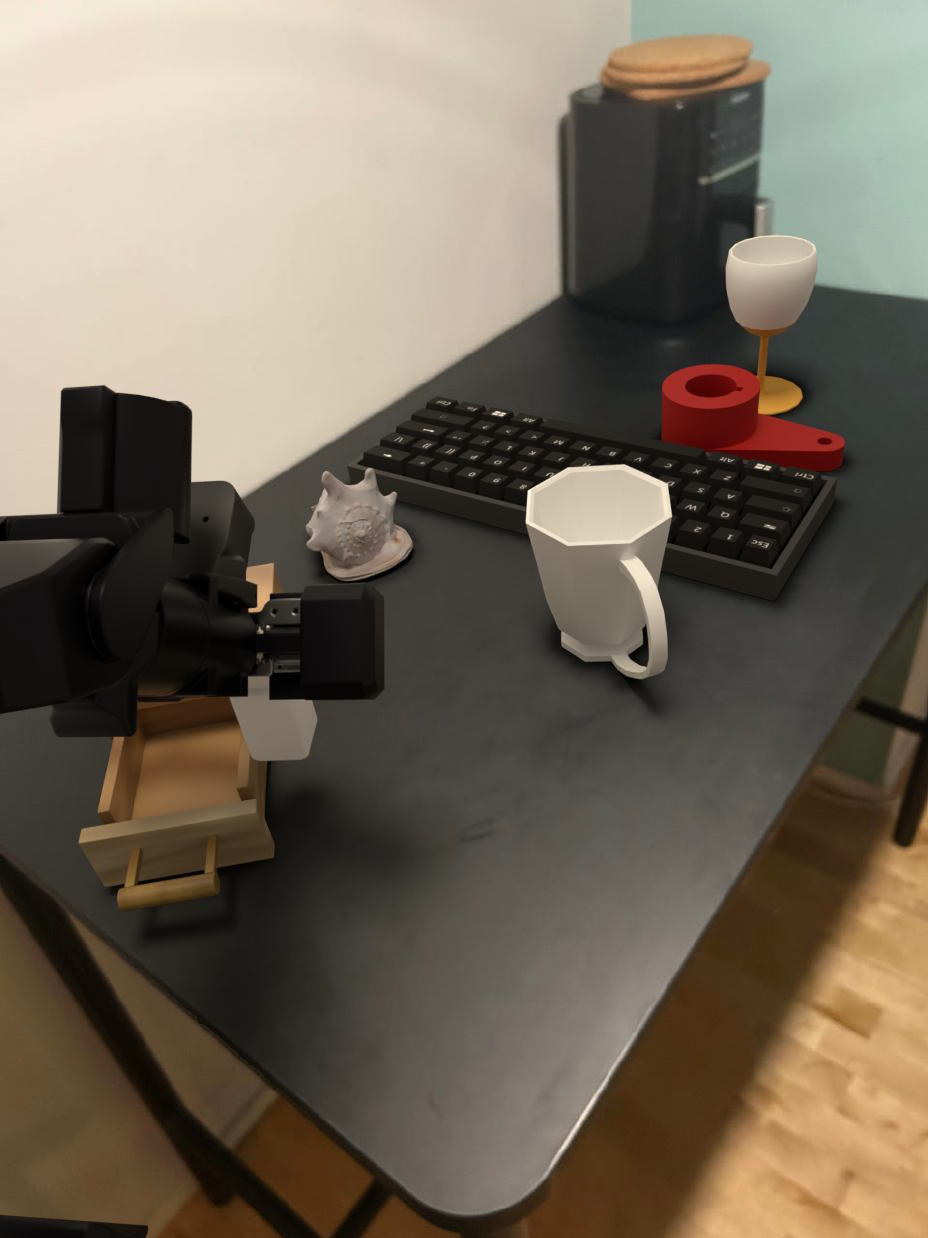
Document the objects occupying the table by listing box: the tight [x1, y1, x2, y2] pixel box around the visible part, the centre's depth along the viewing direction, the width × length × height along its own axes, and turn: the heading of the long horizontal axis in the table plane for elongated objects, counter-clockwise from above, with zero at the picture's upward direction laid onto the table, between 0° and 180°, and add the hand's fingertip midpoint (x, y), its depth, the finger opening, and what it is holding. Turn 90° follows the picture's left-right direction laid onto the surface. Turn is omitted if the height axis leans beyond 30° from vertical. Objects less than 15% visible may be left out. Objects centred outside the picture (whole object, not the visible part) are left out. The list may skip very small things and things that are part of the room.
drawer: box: [78, 697, 275, 913], centre depth 66 cm, size 18×11×5 cm, turn 7°
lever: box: [660, 363, 846, 472], centre depth 96 cm, size 18×9×7 cm, turn 62°
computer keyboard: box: [346, 395, 838, 602], centre depth 94 cm, size 45×16×4 cm, turn 57°
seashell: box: [305, 468, 414, 582], centre depth 90 cm, size 10×12×9 cm
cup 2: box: [725, 234, 818, 416], centre depth 101 cm, size 9×9×16 cm
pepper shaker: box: [230, 625, 318, 762], centre depth 61 cm, size 4×4×10 cm
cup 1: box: [526, 465, 672, 680], centre depth 73 cm, size 11×16×13 cm
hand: (267, 654), depth 61 cm, fingers closed on pepper shaker, 4 cm apart
